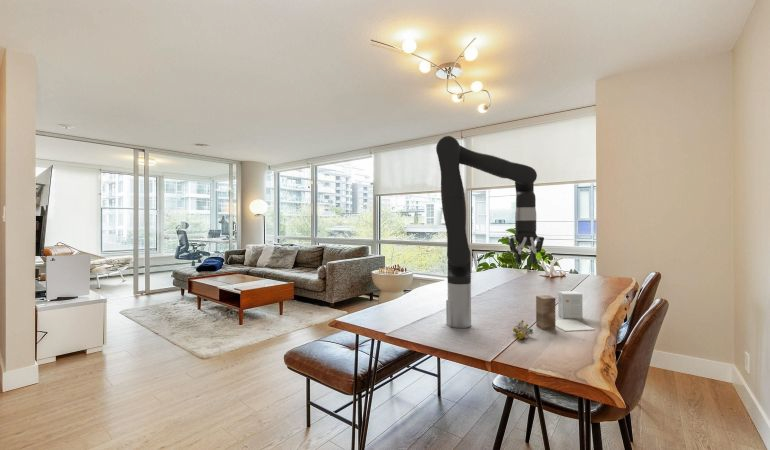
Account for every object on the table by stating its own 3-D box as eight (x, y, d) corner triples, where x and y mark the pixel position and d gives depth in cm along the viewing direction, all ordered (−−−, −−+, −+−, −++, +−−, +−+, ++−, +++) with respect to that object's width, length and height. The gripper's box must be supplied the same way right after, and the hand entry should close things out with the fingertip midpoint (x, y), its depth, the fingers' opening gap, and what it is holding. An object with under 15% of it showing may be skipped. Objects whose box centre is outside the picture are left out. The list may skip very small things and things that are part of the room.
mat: (565, 331, 133) (565, 330, 133) (546, 321, 146) (546, 320, 146) (595, 329, 134) (595, 329, 134) (573, 319, 147) (573, 319, 147)
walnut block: (543, 329, 135) (543, 298, 135) (536, 325, 140) (536, 295, 140) (555, 329, 136) (555, 298, 135) (548, 325, 141) (548, 295, 140)
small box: (577, 315, 154) (577, 291, 154) (582, 318, 148) (582, 293, 148) (557, 314, 155) (557, 290, 155) (562, 318, 149) (562, 293, 149)
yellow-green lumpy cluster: (534, 325, 136) (533, 335, 122) (524, 334, 137) (523, 345, 123) (522, 315, 137) (521, 324, 124) (513, 325, 138) (511, 334, 125)
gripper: (512, 219, 132) (512, 265, 132) (548, 219, 133) (548, 264, 133) (503, 219, 139) (503, 262, 139) (538, 219, 140) (538, 261, 141)
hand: (525, 263), depth 136 cm, fingers open, 4 cm apart
